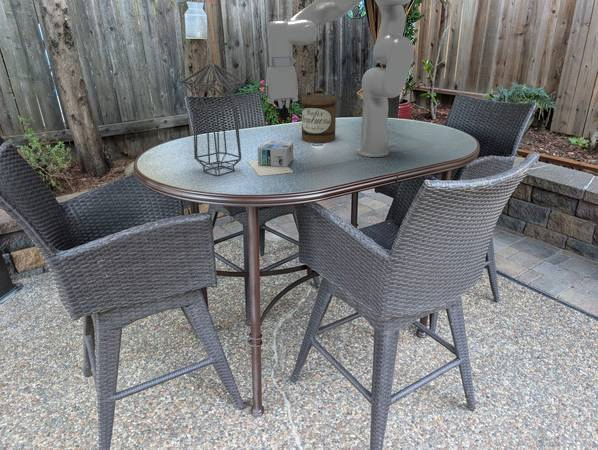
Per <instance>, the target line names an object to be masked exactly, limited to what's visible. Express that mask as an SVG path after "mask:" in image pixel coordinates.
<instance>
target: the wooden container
mask: <svg viewBox="0 0 598 450" xmlns="http://www.w3.org/2000/svg"><path fill="white" fill-rule="evenodd" d="M336 100H337V99H336V96H334V95H329V94H324V93H323V88H322V87H316V88H315V89H314V94H312V95H311V94H309V95H304V96H301V140H302V141H305V142H308V143H314V144H321V143H322V144H323V143H331V142H333V141H335V140H336V123H337V122H336V103H337V101H336Z"/></svg>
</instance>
